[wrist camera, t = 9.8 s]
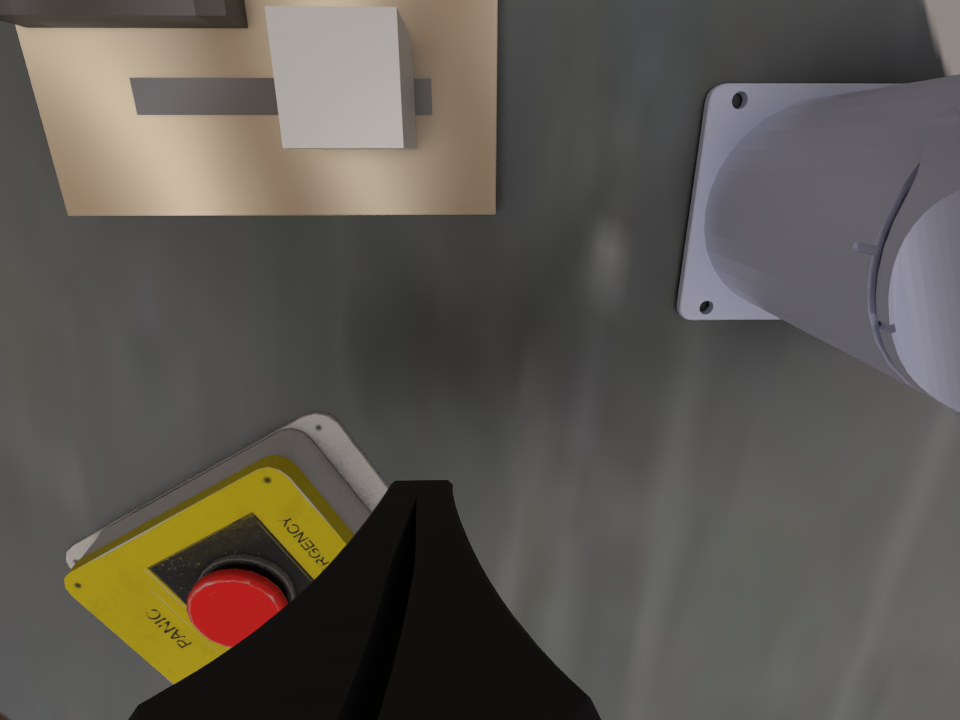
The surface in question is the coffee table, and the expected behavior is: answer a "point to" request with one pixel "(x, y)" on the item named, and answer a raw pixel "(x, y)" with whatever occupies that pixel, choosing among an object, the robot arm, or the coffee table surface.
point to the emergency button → (226, 545)
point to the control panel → (247, 111)
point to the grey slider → (342, 77)
